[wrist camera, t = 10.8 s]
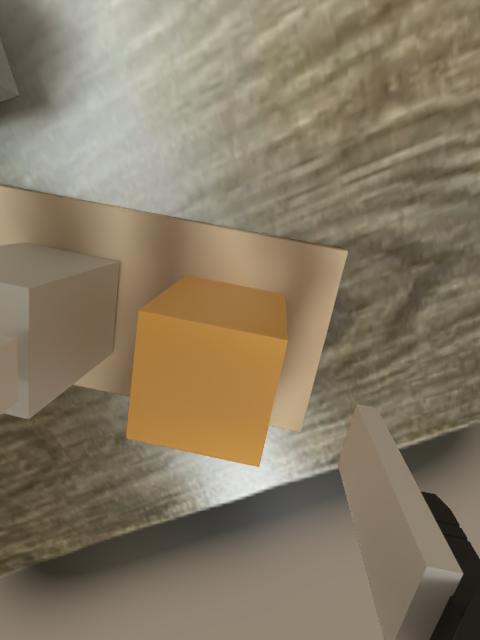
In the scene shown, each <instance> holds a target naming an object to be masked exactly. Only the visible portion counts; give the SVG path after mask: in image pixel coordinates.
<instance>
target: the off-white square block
mask: <svg viewBox="0 0 480 640" xmlns="http://www.w3.org/2000/svg"><path fill="white" fill-rule="evenodd" d="M119 263H120V261H115V260H110V259H105V258H100V257H95V256H90V255H85V254H81V253H76V252H71V251H66V250H61V249H56V248H51V247H46V246H41V245H37V244H32V243H27V242H25V243H17V244H9V245H1V246H0V335H2V336H7V337H12V338H17V358H18V402H16V403H15V404H14V405H13V406H11V407H10V408H9V409H8V410H6V411H5V412H4V414H9V415H13V416H17V417H21V418H25V419H30V418H31V417H32V416H34V415H35V414H36V413H37V412H39V411H40V410H41V409H42V408H44V407H45V406H46V405H48V404H49V403H50V402H51V401H53V400H54V399H55V398H56V397H58V396H59V395H60V394H62V393H63V392H64V391H65V390H67V389H68V388H69V387H70V386H72V385H73V384H74V383H75V382H77V381H78V380H79V379H81V378H82V377H83V376H84V375H86V374H87V373H88V372H89V371H91V370H92V369H93V368H95V367H96V366H97V365H98V364H100V363H101V362H102V361H103V360H105V359H106V358H107V357H109V356H110V355H111V354H112V353H113V340H114V327H115V314H116V301H117V288H118V275H119Z"/></svg>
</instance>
